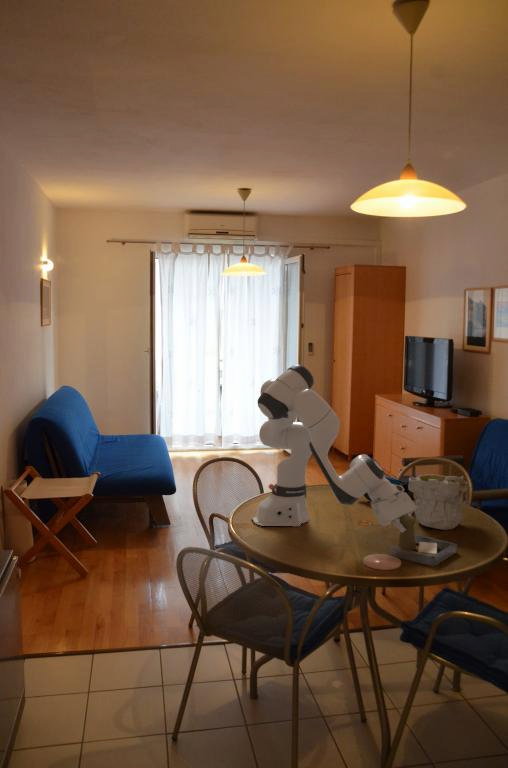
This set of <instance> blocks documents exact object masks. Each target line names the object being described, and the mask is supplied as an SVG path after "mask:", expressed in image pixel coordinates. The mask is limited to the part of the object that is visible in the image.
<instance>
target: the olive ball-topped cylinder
mask: <svg viewBox="0 0 508 768" xmlns="http://www.w3.org/2000/svg"><path fill="white" fill-rule="evenodd" d="M399 523H401V524H402V525H404V526H405V527H406V528H407V530H406V531H405V532H403V533H401V531H400V530H399V532H400V533H399V539H398V545H397V547H399V548H403V549H407V550H411V551H415V550H416V549H417V544H416V543H415V534H416V533H415V526H416V525H415V524H416V518H415V517H414V516H413V515H412V516H402V517H401V518H400V519H399ZM414 525H415V526H414Z"/></svg>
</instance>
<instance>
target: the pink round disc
mask: <svg viewBox="0 0 508 768" xmlns="http://www.w3.org/2000/svg"><path fill="white" fill-rule="evenodd" d="M362 560H363V561H362V562H363V564H364V566H366V567H368V568H370V569H374V570H379V571H391V570H397V569H399V568H400V567H401V566H402V561H401V558H399V557H395V556H392V555H389V554H387V553H385V554H384V553H374V554H369V555H366V556H364V557H363V559H362Z"/></svg>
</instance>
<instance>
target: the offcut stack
mask: <svg viewBox="0 0 508 768" xmlns="http://www.w3.org/2000/svg"><path fill="white" fill-rule="evenodd" d="M418 553H422V554H426V555H430V556H434V555H435V554H437V553H438V549H437V543H427V542H419V544H418Z"/></svg>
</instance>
